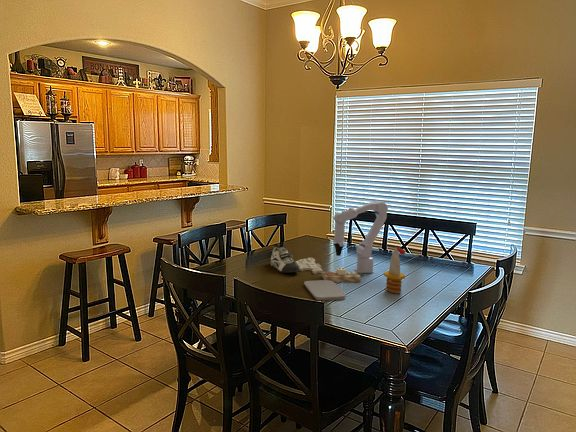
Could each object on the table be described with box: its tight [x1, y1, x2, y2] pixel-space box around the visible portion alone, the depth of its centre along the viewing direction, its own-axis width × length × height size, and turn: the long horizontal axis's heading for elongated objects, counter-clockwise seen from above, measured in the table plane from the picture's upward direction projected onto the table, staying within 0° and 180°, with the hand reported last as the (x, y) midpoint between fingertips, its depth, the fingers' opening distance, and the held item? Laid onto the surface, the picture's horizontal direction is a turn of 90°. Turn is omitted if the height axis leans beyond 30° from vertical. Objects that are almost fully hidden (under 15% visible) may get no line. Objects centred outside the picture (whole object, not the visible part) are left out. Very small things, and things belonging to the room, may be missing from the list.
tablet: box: [303, 279, 347, 301], centre depth 228 cm, size 16×26×2 cm, turn 13°
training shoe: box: [270, 246, 300, 274], centre depth 265 cm, size 11×29×13 cm, turn 30°
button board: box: [321, 270, 361, 283], centre depth 250 cm, size 20×10×3 cm, turn 97°
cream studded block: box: [336, 267, 347, 275], centre depth 249 cm, size 4×4×3 cm
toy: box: [383, 246, 406, 294], centre depth 228 cm, size 9×24×15 cm
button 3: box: [325, 271, 335, 275], centre depth 249 cm, size 4×4×3 cm
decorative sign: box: [295, 257, 324, 275], centre depth 273 cm, size 31×2×15 cm
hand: (338, 255), depth 261 cm, fingers closed
